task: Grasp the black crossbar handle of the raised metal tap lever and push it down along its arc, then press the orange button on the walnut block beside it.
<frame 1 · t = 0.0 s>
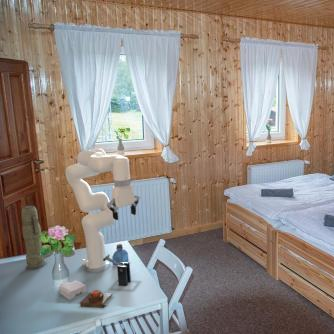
hand: (124, 216, 188), 37 cm above the table, tool pointing down, fingers open, 9 cm apart
button block: (96, 302, 182), on the table
pale pink block: (70, 293, 190), on the table
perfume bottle: (121, 265, 219), on the table
button: (95, 293, 181), point 4 cm above the table, slide at 0.1 cm
lever: (115, 263, 194), point 12 cm above the table, hinge at 30.0°
tap bracket: (125, 285, 197), on the table
stone head statue: (36, 265, 219), on the table
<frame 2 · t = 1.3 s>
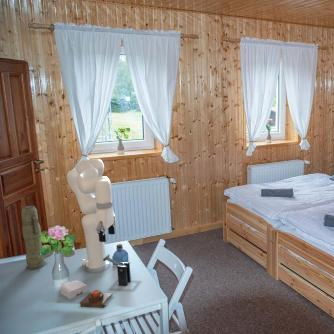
hand: (107, 237, 192), 26 cm above the table, tool pointing down, fingers open, 9 cm apart
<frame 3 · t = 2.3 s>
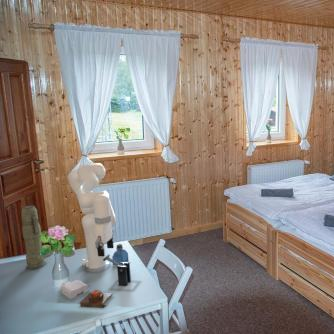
hand: (106, 252, 194), 18 cm above the table, tool pointing down, fingers open, 9 cm apart
nothing on the table moved.
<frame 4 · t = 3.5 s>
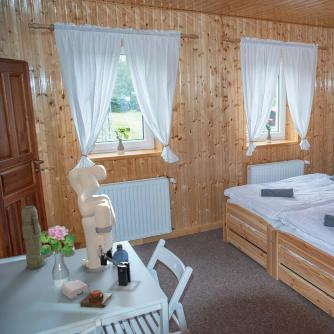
hand: (106, 262, 195), 12 cm above the table, tool pointing down, fingers closed on lever, 5 cm apart
lever: (115, 263, 194), point 12 cm above the table, hinge at 30.0°, touching gripper
everything else where it was.
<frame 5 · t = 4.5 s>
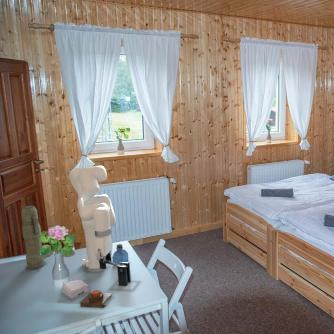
hand: (105, 265, 195), 11 cm above the table, tool pointing down, fingers closed on lever, 5 cm apart
lever: (115, 264, 195), point 12 cm above the table, hinge at 19.7°, touching gripper
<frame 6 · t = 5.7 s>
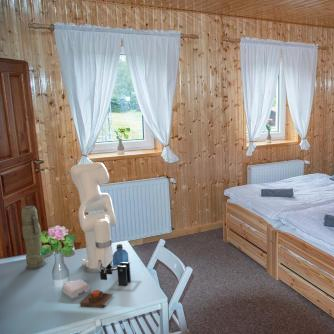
hand: (106, 276, 197), 5 cm above the table, tool pointing down, fingers closed on lever, 5 cm apart
lever: (115, 269, 195), point 9 cm above the table, hinge at -12.7°, touching gripper
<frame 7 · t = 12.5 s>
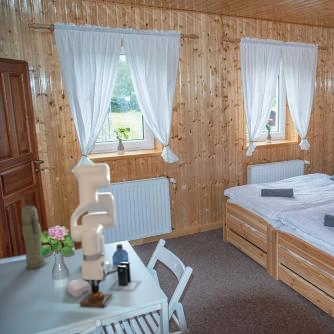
hand: (95, 292, 180), 5 cm above the table, tool pointing down, fingers closed
pale pink block: (77, 290, 192), on the table
button: (95, 293, 181), point 4 cm above the table, slide at 0.0 cm, touching gripper
lever: (115, 270, 195), point 8 cm above the table, hinge at -23.5°
everything else where it was.
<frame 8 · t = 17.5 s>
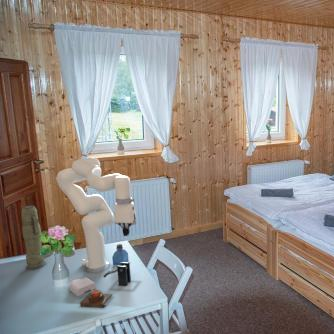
hand: (126, 235, 197), 25 cm above the table, tool pointing down, fingers closed
pale pink block: (80, 290, 193), on the table
button: (95, 293, 181), point 4 cm above the table, slide at 0.1 cm
everything else where it was.
at the end: lever at -24° (first picture: +30°); button pushed in 1.1 cm at the most during the clip and back out by the end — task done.
